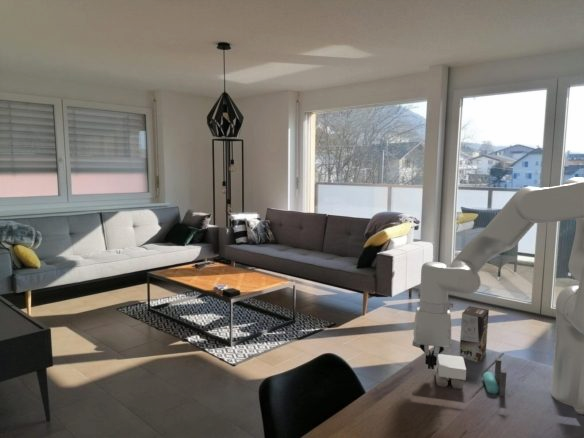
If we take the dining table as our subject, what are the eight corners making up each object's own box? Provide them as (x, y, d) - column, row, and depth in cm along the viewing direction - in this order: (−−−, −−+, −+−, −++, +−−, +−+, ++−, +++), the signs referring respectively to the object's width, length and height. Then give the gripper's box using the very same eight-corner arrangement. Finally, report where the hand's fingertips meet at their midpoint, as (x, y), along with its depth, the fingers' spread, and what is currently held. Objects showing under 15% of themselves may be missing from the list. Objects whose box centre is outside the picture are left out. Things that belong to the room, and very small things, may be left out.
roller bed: (498, 384, 124) (500, 358, 123) (504, 401, 116) (506, 373, 115) (432, 375, 129) (434, 350, 128) (434, 391, 120) (435, 364, 119)
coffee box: (479, 366, 135) (482, 317, 133) (458, 360, 139) (461, 312, 136) (486, 355, 142) (489, 309, 140) (466, 350, 146) (469, 304, 144)
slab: (462, 366, 126) (463, 356, 125) (465, 379, 118) (466, 369, 118) (437, 363, 128) (437, 353, 127) (438, 376, 120) (439, 366, 120)
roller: (480, 378, 124) (485, 369, 124) (491, 383, 124) (496, 374, 123) (484, 390, 118) (490, 381, 117) (495, 396, 117) (500, 387, 116)
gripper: (460, 304, 123) (456, 364, 126) (406, 299, 127) (404, 358, 130) (463, 313, 116) (459, 376, 119) (406, 308, 120) (403, 369, 123)
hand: (430, 366), depth 124 cm, fingers closed
